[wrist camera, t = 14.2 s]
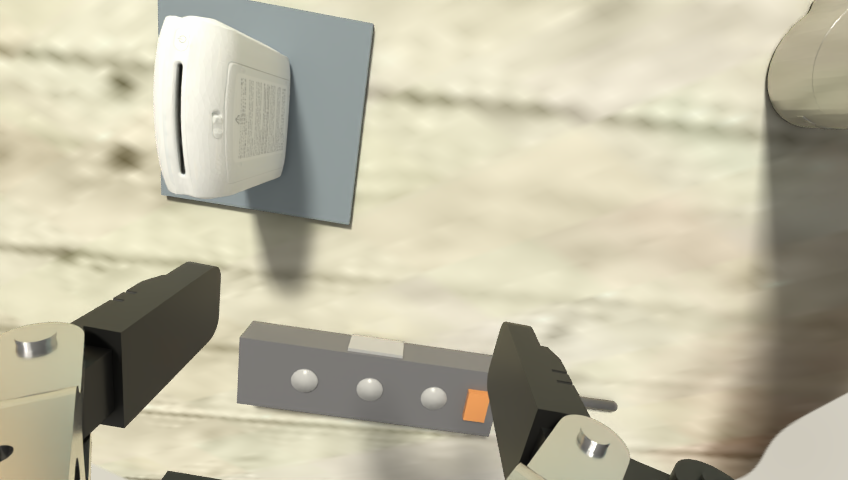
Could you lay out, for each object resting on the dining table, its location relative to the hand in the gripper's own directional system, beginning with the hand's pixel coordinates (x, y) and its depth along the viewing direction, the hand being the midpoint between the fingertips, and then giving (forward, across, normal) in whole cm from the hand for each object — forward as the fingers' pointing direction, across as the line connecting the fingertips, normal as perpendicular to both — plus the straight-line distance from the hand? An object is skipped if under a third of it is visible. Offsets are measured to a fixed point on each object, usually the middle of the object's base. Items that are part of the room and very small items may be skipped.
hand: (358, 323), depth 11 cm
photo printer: (+24, +12, -3) cm, 27 cm away
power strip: (+24, -7, +19) cm, 31 cm away
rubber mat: (+24, +12, -3) cm, 28 cm away
